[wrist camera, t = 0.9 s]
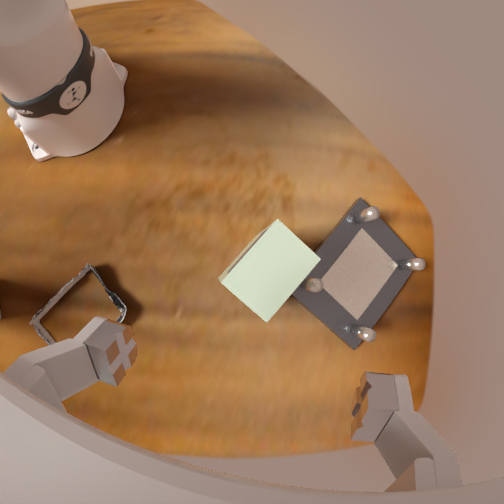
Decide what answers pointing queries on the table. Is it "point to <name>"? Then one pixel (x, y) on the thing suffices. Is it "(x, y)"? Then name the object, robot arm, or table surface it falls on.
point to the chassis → (356, 274)
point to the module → (269, 269)
